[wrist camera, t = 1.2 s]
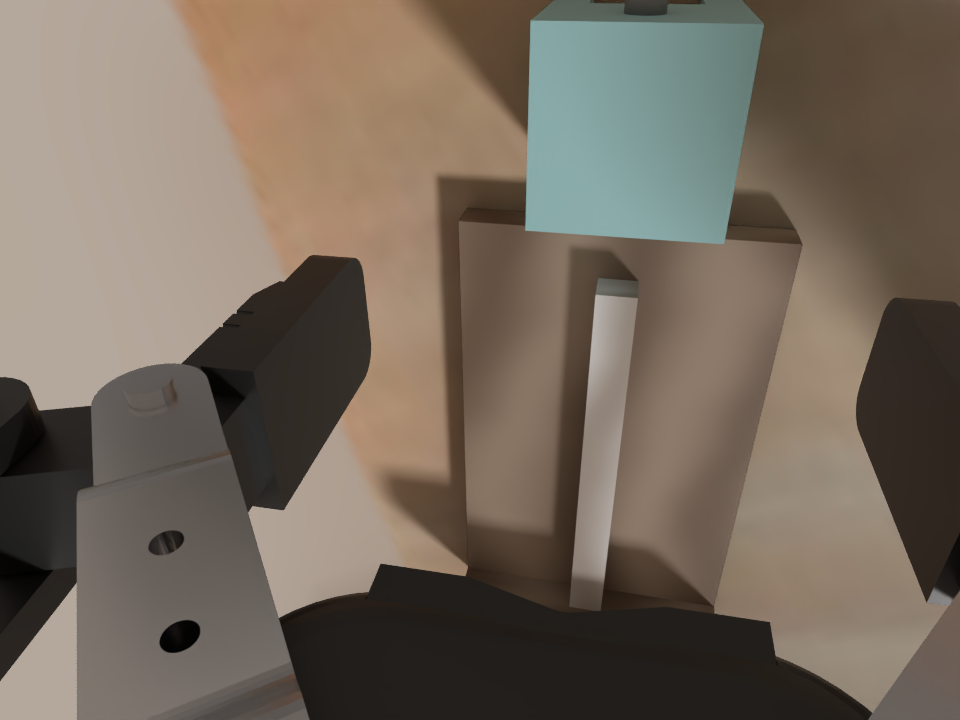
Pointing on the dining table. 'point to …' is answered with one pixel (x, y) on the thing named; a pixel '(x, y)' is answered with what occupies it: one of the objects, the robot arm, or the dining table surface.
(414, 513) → the dining table surface
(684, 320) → the cleat board
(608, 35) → the cabinet block
